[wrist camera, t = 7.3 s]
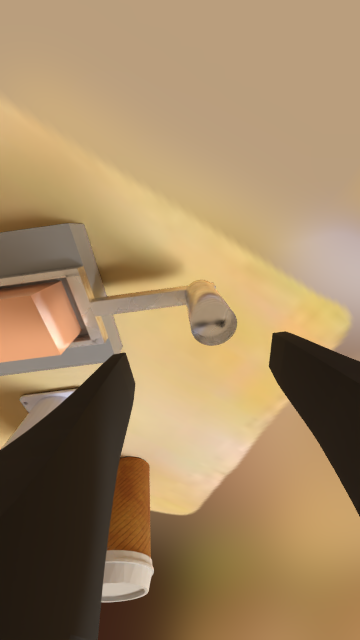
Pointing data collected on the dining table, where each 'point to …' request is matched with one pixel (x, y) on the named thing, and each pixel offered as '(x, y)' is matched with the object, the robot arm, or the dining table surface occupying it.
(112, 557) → the disposable coffee cup
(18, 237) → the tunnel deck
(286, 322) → the dining table surface
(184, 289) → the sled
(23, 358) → the terracotta block
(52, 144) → the dining table surface
